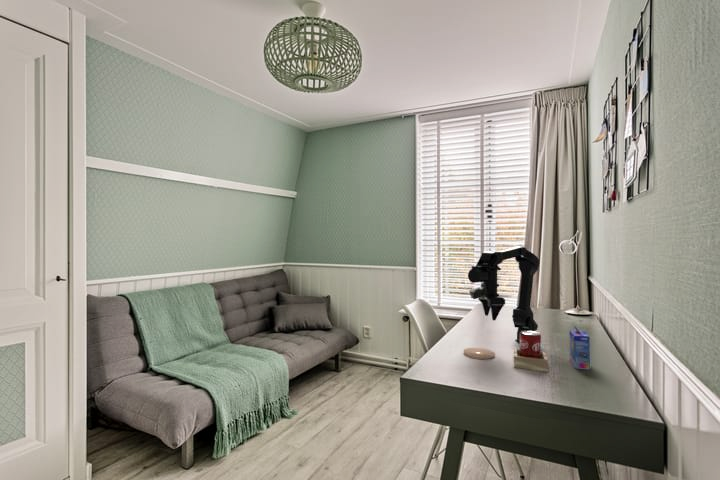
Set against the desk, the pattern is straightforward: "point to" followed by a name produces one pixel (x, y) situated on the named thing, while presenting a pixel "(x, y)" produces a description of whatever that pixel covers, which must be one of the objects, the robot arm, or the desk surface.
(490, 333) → the desk surface
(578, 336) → the ink cartridge box
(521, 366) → the birch box
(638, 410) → the desk surface
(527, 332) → the soda can
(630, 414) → the desk surface
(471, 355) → the coaster
